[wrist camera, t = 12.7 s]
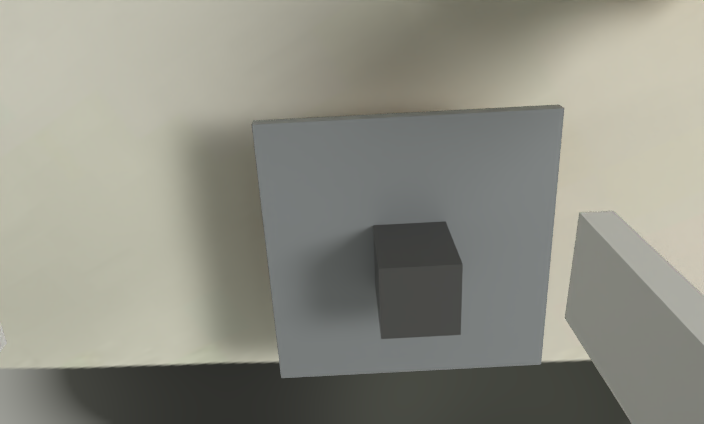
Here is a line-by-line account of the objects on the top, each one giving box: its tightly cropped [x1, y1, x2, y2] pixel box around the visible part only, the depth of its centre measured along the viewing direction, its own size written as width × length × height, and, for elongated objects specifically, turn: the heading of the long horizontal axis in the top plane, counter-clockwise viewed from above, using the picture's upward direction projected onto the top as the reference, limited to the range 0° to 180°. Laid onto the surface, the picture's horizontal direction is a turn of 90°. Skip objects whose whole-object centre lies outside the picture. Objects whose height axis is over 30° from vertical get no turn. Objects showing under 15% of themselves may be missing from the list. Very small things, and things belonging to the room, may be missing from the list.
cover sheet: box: [252, 105, 564, 378], centre depth 32 cm, size 16×16×6 cm
